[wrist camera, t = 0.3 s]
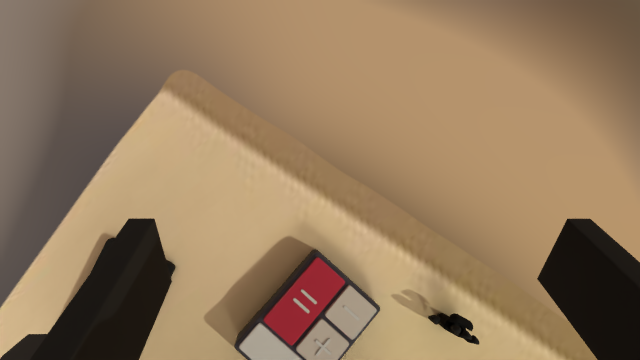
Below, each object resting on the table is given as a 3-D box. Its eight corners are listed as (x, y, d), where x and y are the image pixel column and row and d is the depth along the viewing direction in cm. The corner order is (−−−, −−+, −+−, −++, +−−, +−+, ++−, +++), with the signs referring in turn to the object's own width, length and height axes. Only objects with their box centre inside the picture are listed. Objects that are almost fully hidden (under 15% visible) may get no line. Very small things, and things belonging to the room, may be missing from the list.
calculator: (383, 310, 43) (301, 411, 41) (374, 301, 47) (299, 392, 45) (317, 250, 42) (231, 349, 40) (314, 247, 47) (236, 336, 44)
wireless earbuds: (420, 313, 47) (435, 327, 42) (428, 296, 47) (444, 308, 42) (464, 337, 47) (485, 354, 42) (472, 320, 47) (494, 335, 42)
